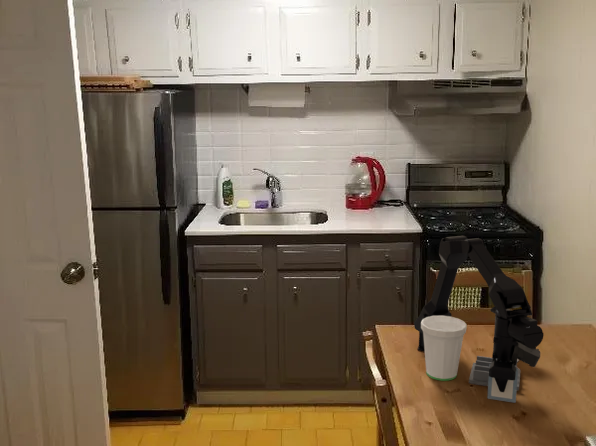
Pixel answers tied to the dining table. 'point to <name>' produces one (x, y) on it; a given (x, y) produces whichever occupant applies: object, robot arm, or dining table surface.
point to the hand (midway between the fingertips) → (502, 390)
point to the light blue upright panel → (509, 391)
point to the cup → (442, 345)
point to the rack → (484, 372)
